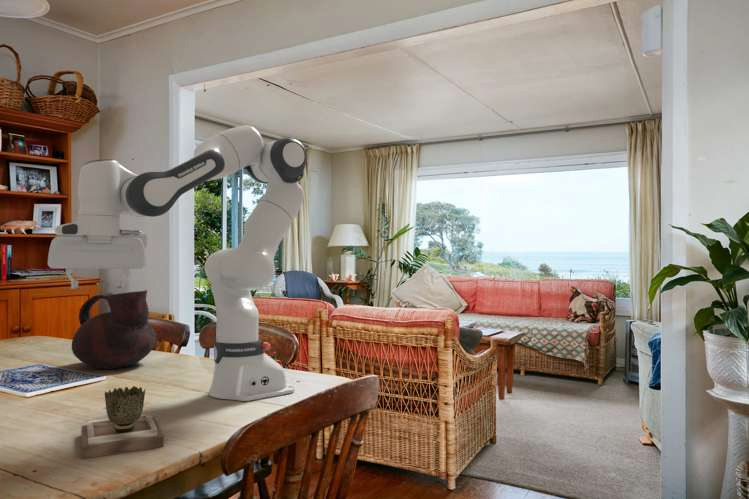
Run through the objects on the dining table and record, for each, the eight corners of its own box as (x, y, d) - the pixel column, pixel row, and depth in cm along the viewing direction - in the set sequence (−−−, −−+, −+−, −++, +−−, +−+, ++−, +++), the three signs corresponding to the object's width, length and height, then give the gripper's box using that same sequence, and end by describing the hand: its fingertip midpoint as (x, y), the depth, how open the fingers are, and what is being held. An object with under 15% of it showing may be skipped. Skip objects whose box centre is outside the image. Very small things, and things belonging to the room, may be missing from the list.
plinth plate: (154, 425, 118) (154, 412, 118) (163, 446, 106) (163, 431, 106) (81, 435, 112) (81, 420, 112) (81, 458, 99) (82, 442, 99)
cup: (98, 430, 109) (99, 389, 109) (135, 422, 114) (136, 384, 114) (111, 439, 104) (112, 397, 104) (150, 430, 109) (151, 390, 109)
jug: (112, 356, 195) (113, 286, 195) (171, 361, 187) (172, 288, 188) (51, 370, 172) (53, 290, 172) (115, 376, 164) (117, 293, 164)
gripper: (145, 230, 134) (144, 286, 134) (49, 227, 124) (48, 288, 124) (148, 230, 129) (147, 288, 129) (47, 226, 119) (46, 290, 119)
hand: (97, 288), depth 126 cm, fingers open, 8 cm apart
